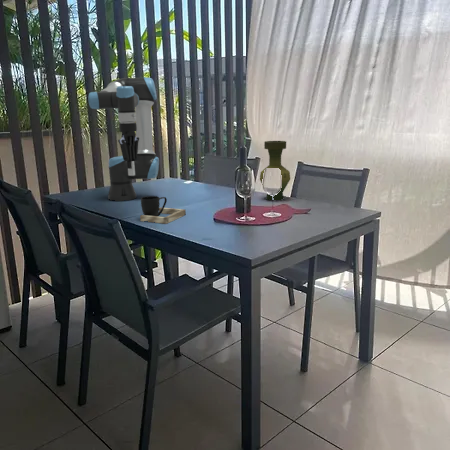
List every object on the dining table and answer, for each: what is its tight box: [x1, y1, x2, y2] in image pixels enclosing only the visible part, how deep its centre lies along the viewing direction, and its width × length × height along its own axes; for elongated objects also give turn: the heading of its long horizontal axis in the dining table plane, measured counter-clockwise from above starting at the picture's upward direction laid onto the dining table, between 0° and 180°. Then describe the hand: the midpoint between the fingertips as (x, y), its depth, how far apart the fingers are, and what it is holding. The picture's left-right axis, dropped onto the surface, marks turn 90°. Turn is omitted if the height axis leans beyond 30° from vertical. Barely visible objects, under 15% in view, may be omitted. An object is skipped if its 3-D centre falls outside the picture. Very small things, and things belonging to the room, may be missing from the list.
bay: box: [139, 206, 187, 225], centre depth 203 cm, size 14×17×2 cm
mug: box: [140, 195, 168, 217], centre depth 203 cm, size 8×12×10 cm
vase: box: [259, 140, 291, 201], centre depth 234 cm, size 16×16×30 cm
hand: (131, 175), depth 205 cm, fingers closed
